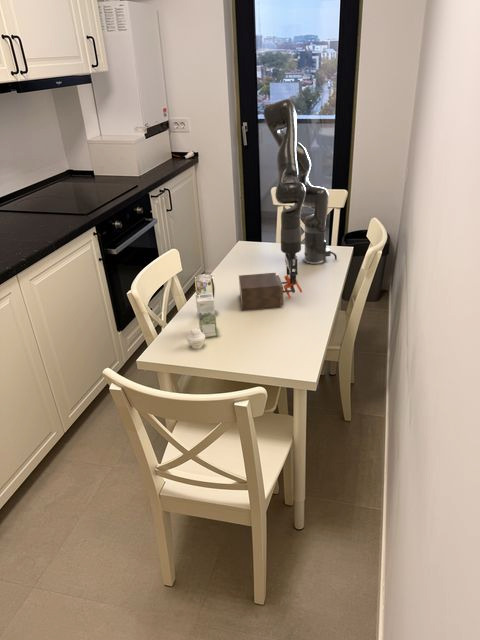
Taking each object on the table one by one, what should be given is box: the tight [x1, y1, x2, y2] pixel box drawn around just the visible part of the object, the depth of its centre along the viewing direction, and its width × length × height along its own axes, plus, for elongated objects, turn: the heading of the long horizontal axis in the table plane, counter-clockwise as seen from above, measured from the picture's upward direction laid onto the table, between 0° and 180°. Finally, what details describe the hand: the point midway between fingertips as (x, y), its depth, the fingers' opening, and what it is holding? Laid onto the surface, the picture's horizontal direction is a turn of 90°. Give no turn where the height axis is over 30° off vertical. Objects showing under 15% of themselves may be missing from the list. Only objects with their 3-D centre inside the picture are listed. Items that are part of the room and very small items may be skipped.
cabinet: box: [238, 272, 281, 311], centre depth 193 cm, size 15×13×9 cm
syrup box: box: [195, 293, 218, 339], centre depth 172 cm, size 6×6×14 cm
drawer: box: [276, 274, 296, 306], centre depth 193 cm, size 18×11×7 cm, turn 96°
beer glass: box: [194, 273, 217, 315], centre depth 184 cm, size 7×7×15 cm
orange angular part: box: [283, 274, 303, 299], centre depth 193 cm, size 6×3×8 cm, turn 96°
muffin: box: [186, 327, 206, 350], centre depth 166 cm, size 6×6×7 cm
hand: (291, 279), depth 192 cm, fingers open, 8 cm apart
